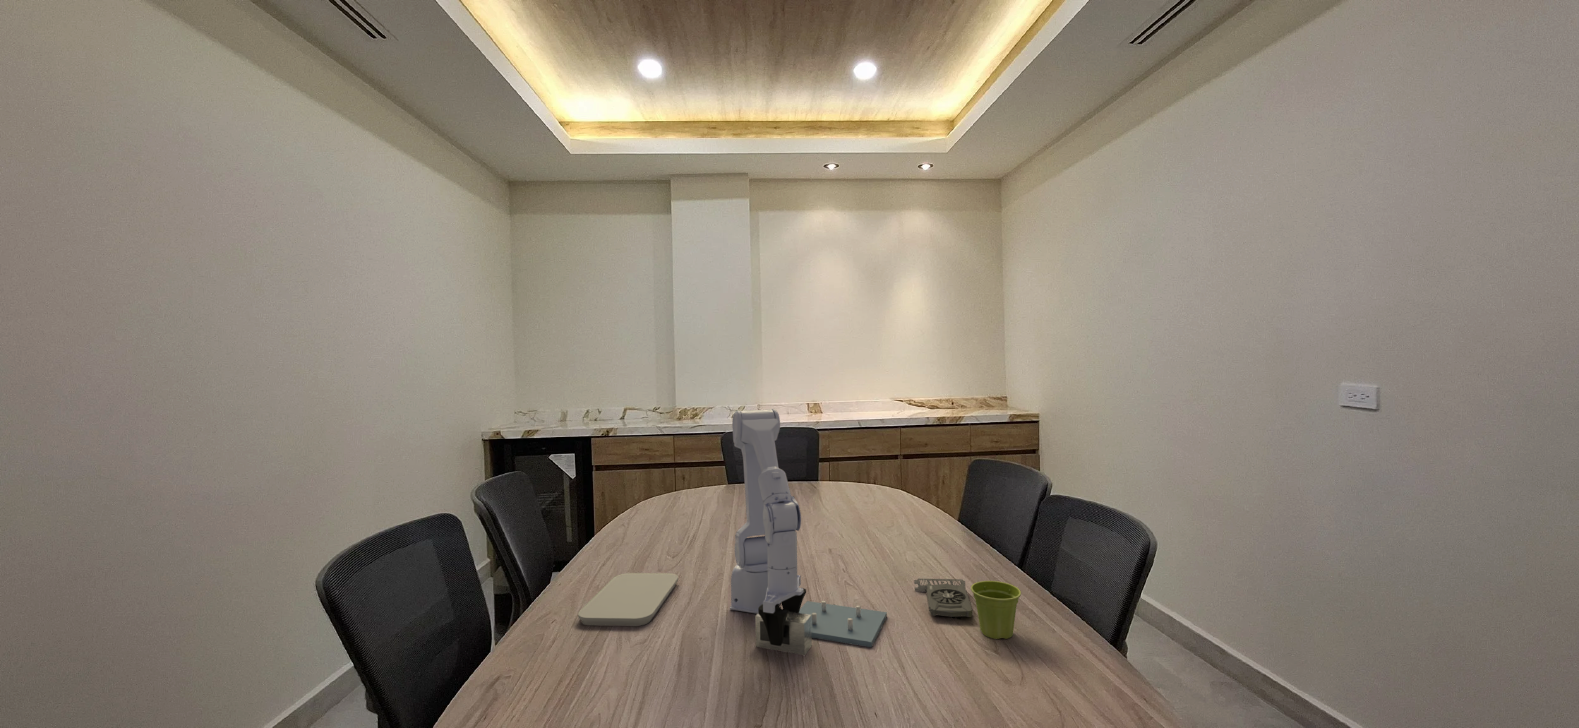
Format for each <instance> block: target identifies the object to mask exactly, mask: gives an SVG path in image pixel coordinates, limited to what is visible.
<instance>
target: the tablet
mask: <svg viewBox="0 0 1579 728" xmlns="http://www.w3.org/2000/svg"><path fill="white" fill-rule="evenodd" d="M677 582H679V576H678V574H675V573H671V572H670V573H669V572H667V573H666V572H665V573H664V572H660V573H659V572H654V573H653V572H626V573H621V574H618V575H615V576H614V577H613V578H611V580H610V581H609V582H607V583H606V584H605V585H604V586H603V587H602V588H601V589H600V590H599V591H598V592H597V593H596V594H595V595H594V596H593V597H592V598H591V599H590V600H589V601H588V602H587V603H586V604H585V605H584V606H583V607H582V608H581V609H580V610H579V611H578V613H577V618H578V619H579V620H581V623H582V625H585V626H607V627H608V626H616V627H618V626H619V627H621V626H622V627H639V626H645V625H646V624H648V623H650V622H651V621H652V620H653V618H654V616H655V615H656V614H657V613H658V611H659V610H660V608H661V607H662V605H663V604H664V602H665V601H666V600H667V598H668V597H669V595H670V594H671V593H672V591H673V589H674V588H675V587H676V584H677Z"/></svg>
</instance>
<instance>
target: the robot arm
mask: <svg viewBox="0 0 1579 728" xmlns="http://www.w3.org/2000/svg"><path fill="white" fill-rule="evenodd" d="M731 427H732V441H733V443H734V444H733V445H734V447H735V448H737V449H740V450H741V454H742V460H743V461H742V462H743V478H744V495H745V496H744V497H745V499H744V500H745V514H746V522H745V523H744V524H743V525H742V526H741V527H740V528H738V530H737V531H736V532H735V535H734V536H735V537H734V539H735V543H734V557H735V559H734V560H735V562H736V564H735V566H734V567H733V569H732V572H731V576H730V577H731V578H730V599H731V600H730V603H731V604H730V607H729V609H730V610H732V611H739V612H744V613H752V614H756V615H757V614H758V613H759V615H760V616H761V618H762V620H763V622H764V624H765V626H766V630H767V633H768V637H769V641H770V644H771V645H776V646H781V645H782V642H783V634H784V625H785V621H786V618H787V615H788V613H789V612H795V613H799V611H800V609H801V607H802V603H803V600H804V598H805V596H806V593H807V589H806V588H803V587H800V586H801V584H802V580H801V579H802V578H801V577H802V575H799V574H798V534H797V532H799V531H800V529H801V527H802V513H801V510H800V509H801V508H800V505H799V502H798V501H797V500H796V499H795V496H794V495H793V496H792V493H791V490H790V486H789V482H788V477H787V473H786V472H785V471H784V470H783V469H781V468H779V462H778V456H777V455H778V454H777V448H776V442H775V441H777V440H778V436H779V433H780V430H781V420H780V415H779V412H778V411H777V410H776V409H775V408H771V409H755V410H754V409H753V410H751V409H750V410H735V411H734V413H733V415H732V426H731ZM780 604H781V606H780Z"/></svg>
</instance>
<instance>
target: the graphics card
mask: <svg viewBox="0 0 1579 728" xmlns="http://www.w3.org/2000/svg"><path fill="white" fill-rule="evenodd" d="M913 581H914V582H913V584H914V585H917V587H915V586H914V592H925V593H926V595H927V596H926V598H927V605H928V611H929V612H930V615H931V616H934V617H935V616H944V617H950V618H952V619H954V620H961V619H962V618H961V617H967V618H971V617H973V607H972V604H971V601H970V597H969V594H968V591H967V589H966V579H965V578H964V579H961V578H959V579H957V578H956V579H955V578H924V577H923V578H921V577H919V578H917V579H914V580H913ZM931 582H932V583H931ZM935 582H936V583H935ZM939 582H940V583H939ZM945 582H946V583H945ZM949 583H950V584H949Z"/></svg>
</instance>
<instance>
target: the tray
mask: <svg viewBox="0 0 1579 728" xmlns="http://www.w3.org/2000/svg"><path fill="white" fill-rule="evenodd" d="M799 613H802V614H809V615H811V628H812V638H813V639H820V640H823V641H824V640H825V641H830V642H838V643H845V644H850V645H857V646H862V647H868V648H872V647H873V646H874V643H875V642H876V639H877V638H878V635H879V634H880V631H881V629H882V628H883V626H884V623H885V621H886V619H887V616H888V612H887V611H881V610H880V611H879V610H874V609H866V608H861V605H856V606H855V607H853V606H845V605H838V604H830V603H827V601H826V600H822V601H820V602H816V601H809V600H807V601H805V603H804V604H803V605H801V607H800V611H799Z"/></svg>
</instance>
